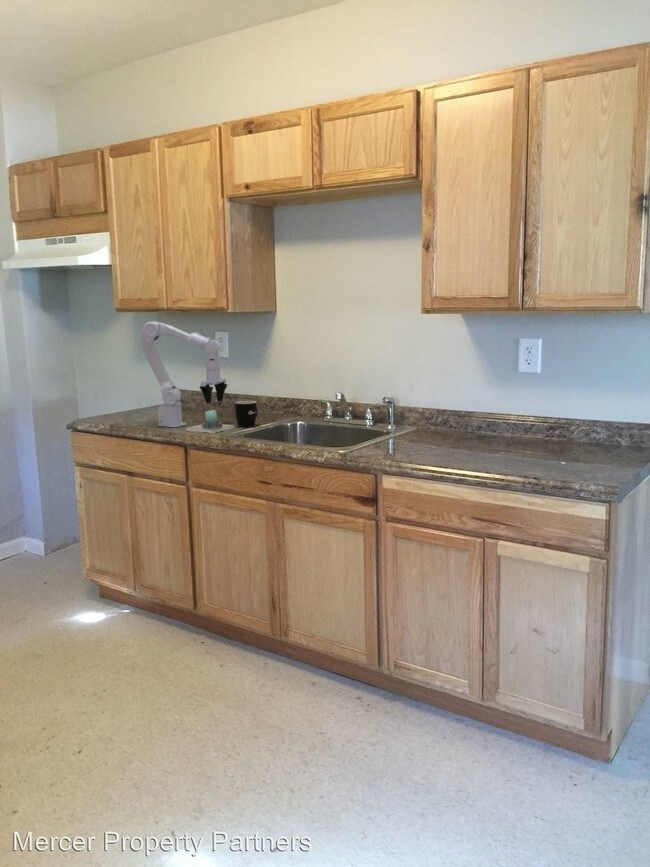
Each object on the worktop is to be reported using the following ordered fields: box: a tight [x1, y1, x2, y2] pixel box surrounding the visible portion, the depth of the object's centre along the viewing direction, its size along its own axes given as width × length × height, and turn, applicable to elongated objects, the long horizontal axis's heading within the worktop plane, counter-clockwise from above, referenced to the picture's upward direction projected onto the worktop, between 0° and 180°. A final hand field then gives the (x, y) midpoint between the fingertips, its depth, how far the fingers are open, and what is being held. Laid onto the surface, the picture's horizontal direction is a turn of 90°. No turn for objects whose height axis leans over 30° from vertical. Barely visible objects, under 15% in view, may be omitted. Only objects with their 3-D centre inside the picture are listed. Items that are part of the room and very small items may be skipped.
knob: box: [205, 409, 218, 424], centre depth 294 cm, size 4×4×6 cm
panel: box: [185, 420, 236, 434], centre depth 293 cm, size 14×14×3 cm
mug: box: [234, 400, 258, 428], centre depth 301 cm, size 12×9×10 cm
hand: (214, 402), depth 302 cm, fingers open, 7 cm apart
